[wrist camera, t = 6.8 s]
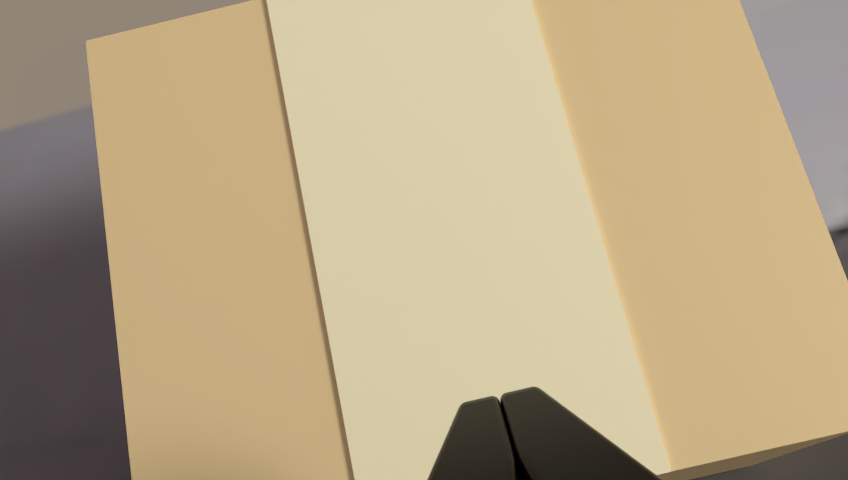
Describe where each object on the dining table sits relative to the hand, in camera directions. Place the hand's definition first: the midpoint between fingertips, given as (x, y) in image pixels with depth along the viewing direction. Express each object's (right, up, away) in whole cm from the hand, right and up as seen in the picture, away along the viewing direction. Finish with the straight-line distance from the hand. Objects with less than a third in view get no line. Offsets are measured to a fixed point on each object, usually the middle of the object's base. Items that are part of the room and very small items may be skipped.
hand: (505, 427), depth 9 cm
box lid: (0, +2, +8) cm, 8 cm away
